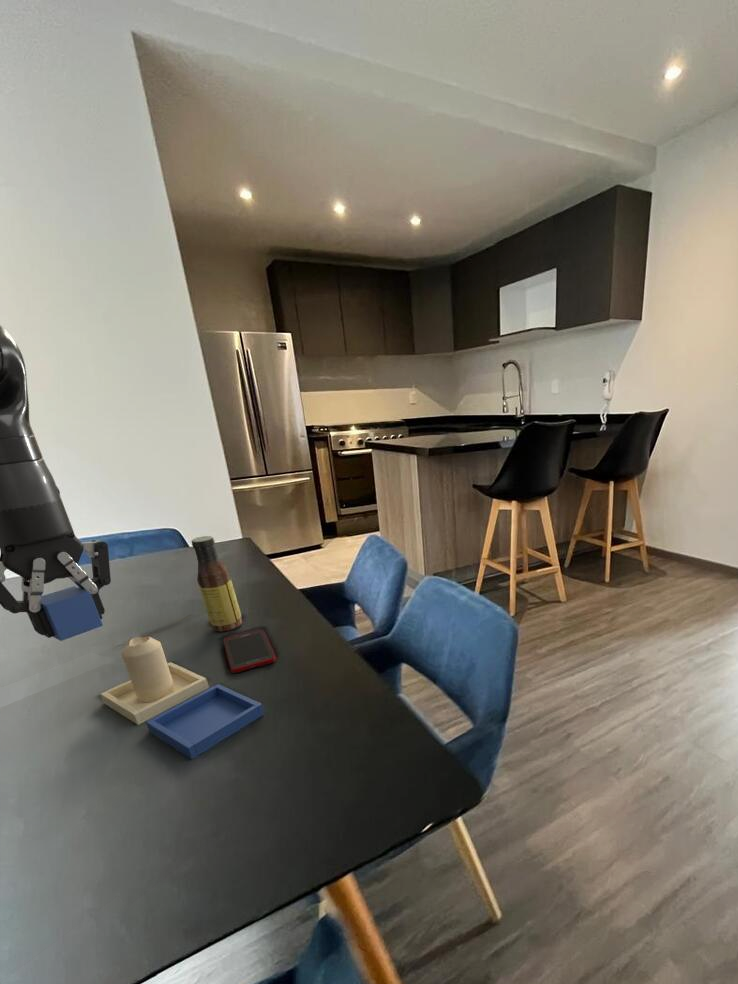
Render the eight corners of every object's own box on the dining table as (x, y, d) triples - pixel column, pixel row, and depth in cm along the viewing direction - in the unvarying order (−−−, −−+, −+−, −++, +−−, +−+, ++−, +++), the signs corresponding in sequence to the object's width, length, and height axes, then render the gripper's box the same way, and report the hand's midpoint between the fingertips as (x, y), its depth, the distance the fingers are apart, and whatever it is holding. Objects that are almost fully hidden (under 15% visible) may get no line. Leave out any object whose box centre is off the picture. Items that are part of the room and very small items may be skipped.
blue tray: (191, 759, 66) (188, 748, 65) (149, 732, 72) (145, 721, 72) (264, 714, 75) (261, 703, 74) (220, 693, 81) (218, 683, 80)
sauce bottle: (229, 618, 110) (207, 532, 102) (249, 622, 107) (228, 534, 99) (204, 631, 104) (179, 541, 97) (225, 635, 102) (200, 543, 94)
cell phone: (232, 675, 86) (230, 670, 86) (223, 642, 98) (222, 638, 98) (277, 662, 89) (276, 657, 89) (263, 632, 102) (262, 628, 101)
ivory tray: (138, 725, 74) (134, 714, 74) (104, 703, 81) (100, 693, 80) (209, 688, 83) (206, 678, 82) (173, 671, 89) (170, 661, 88)
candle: (131, 696, 81) (111, 643, 77) (164, 681, 85) (147, 629, 81) (147, 706, 78) (128, 651, 74) (181, 689, 82) (164, 636, 78)
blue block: (60, 641, 63) (45, 605, 61) (46, 633, 65) (30, 599, 64) (103, 625, 67) (90, 591, 65) (87, 618, 69) (74, 586, 67)
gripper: (76, 488, 67) (118, 603, 73) (-66, 512, 56) (-2, 644, 63) (100, 491, 63) (142, 612, 69) (-48, 516, 52) (18, 657, 58)
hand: (73, 626), depth 66 cm, fingers closed on blue block, 5 cm apart
